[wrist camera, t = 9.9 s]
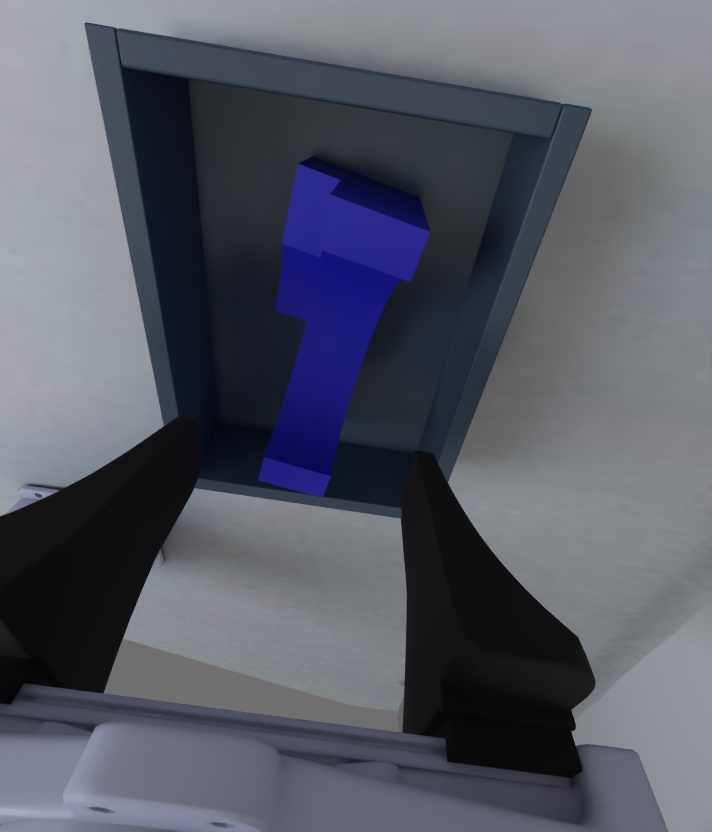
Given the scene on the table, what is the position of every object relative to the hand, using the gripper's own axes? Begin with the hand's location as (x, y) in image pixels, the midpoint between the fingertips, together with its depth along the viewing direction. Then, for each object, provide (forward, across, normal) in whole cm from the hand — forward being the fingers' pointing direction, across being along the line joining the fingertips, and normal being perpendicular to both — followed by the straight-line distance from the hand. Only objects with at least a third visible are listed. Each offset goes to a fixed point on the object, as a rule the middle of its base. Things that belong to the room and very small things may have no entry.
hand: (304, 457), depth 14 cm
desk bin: (+9, 0, -2) cm, 9 cm away
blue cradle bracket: (+9, 0, -2) cm, 9 cm away
